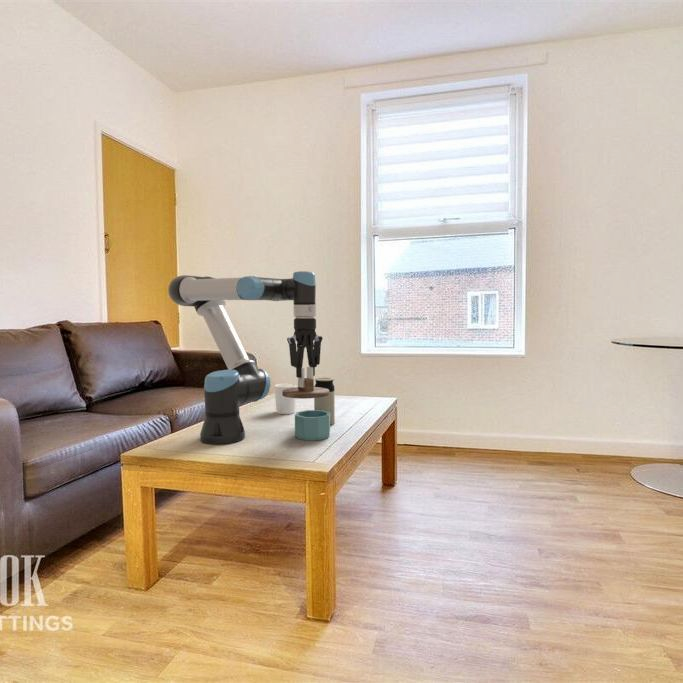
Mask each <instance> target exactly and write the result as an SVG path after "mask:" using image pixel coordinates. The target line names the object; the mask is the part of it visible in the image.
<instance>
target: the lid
mask: <svg viewBox="0 0 683 683" xmlns="http://www.w3.org/2000/svg"><path fill="white" fill-rule="evenodd" d="M314 381H315V378H313V379H309V378H307V377H304V388H302V387H298V386H297V387H296V388H289V389H285V390H283V391H282V395H283V396H284V397H288V398H296V399H314V398H319V397H325V396H328V395H329V389H326V388H321V387H314V386H315V385H314Z"/></svg>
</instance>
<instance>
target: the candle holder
mask: <svg viewBox="0 0 683 683" xmlns="http://www.w3.org/2000/svg"><path fill="white" fill-rule="evenodd" d="M296 387H298V384H296V383H287V382H286V383H284V382H283V383H277V384H275V385H274V400H275V412H276V414H278V413H279V414H278V415H291V413H292V414H296V410H297V409H296V408H297V406H296V405H297V398H288V397H284V396H283V395H282V391H283V390H285V389H289V388H296Z"/></svg>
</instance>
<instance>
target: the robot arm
mask: <svg viewBox="0 0 683 683" xmlns="http://www.w3.org/2000/svg"><path fill="white" fill-rule="evenodd" d="M316 286H317V284H316V274H315V273H314V272H313V271H308V270H307V271H294V272H293V273H292V278H275V277H273V278H271V277H261V276H254V275H247V276H243V277H242V276H241V277H222V278H221V277H220V278H216V277H212V276H207V275H206V276H197V275H180V276H179V275H178V276H176V277H173V279H172V280H171V281H170V283H169V285H168V291H167V292H168V295H169V297H170V298H169V299H171V300H172V301H173V302H174V303H175V304H176V305H179V306H181V307H194V309H195V312H196V314H197V315H198V316H199V317H200V316H201V317H203V319H204V321H205V323H206V325H207V328H208V330H209V331H210V334H211V336H212V338H213V340H214V343H215V344H216V347H217V349H218V350H219V353H220V354H221V357H222V359H223V361H224V363H225V366H226V368H227V369H222V370H221V369H220V370H216V371H212V372H210V373H208V374H207V375H205V378H204V385H203V392H204V393H203V394H204V420H203V424H202V427H201V429H200V433H199V434H200V435H199V438H200V442H202V443H204V444H208V443H209V444H210V445H224V444H232V443H233V444H234V443H237V442H240V441H242V440H244V439H245V437H246V430H245V427H244V424H243V422H242V419H241V416H240V405H245V404H249V403H252V402H253V403H254V402H258V401H260V400H263V399H265V398H266V397H267V396H268V394H269V392H270V388H271V378H270V375H269V374H268V372H267V371H266V370H265V369H263V368H259V367H258V365H257V362H256V361H255V360H251V359H250V357H249V356H248V354H247V352H246V349H245V348H244V345H243V344H242V341H241V339H240V337H239V335H238V333H237V331H236V329H235V327H234V325H233V323H232V321H231V319H230V318H229V315H228V313H227V311H226V309H225V306H226V304H227V303H226V302H227V301H271V302H280V301H281V302H282V301H285V302H286V301H293V317H294V319H293V330H294V332H293V335H292V336H290V337H287V338H286V340H287V343H288V348H289V359H290V360H289V361H290V367H294V368H296V369H295V372H296V375H295V377H296V378H297V387H302V388H304V378H305V368H303V363H304V355H305V354H304V353H305V350H306V357H307V362H308V366H306V378H309V379H314V377H315V375H316V372H315V371H316V370H315V368H317V366H318V365H320V364H321V363H320V362H321V346H322V341H323V336H322V335H318V334H317V331H316V329H317V319H316V318H315V317H316V316H317V313H316V312H317V305H316V290H317V289H316Z"/></svg>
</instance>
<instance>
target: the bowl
mask: <svg viewBox="0 0 683 683" xmlns="http://www.w3.org/2000/svg"><path fill="white" fill-rule="evenodd" d="M294 414H295V415H294V435H295V438H296V439H298V440H301V441H308V442H312V441H314V442H315V441H316V440H317V441H322V440H326V438H327V439H328V437H329V438H330V434H331V425H330V412H326V411H322V410H314V409H313V410H312V409H306V410H301V411H297V412H295V413H294ZM317 441H316V442H317Z"/></svg>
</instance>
